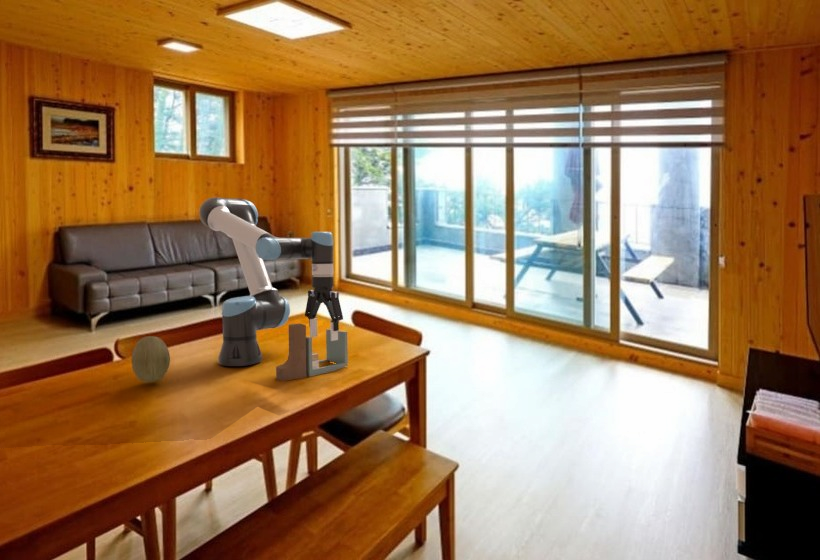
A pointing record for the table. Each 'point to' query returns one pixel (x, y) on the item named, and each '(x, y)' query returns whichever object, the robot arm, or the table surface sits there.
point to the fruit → (150, 359)
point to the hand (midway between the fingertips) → (323, 338)
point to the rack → (329, 354)
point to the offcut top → (314, 357)
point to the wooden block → (294, 355)
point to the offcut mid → (315, 364)
